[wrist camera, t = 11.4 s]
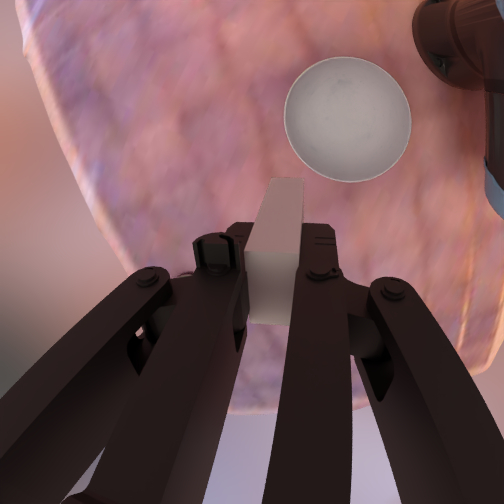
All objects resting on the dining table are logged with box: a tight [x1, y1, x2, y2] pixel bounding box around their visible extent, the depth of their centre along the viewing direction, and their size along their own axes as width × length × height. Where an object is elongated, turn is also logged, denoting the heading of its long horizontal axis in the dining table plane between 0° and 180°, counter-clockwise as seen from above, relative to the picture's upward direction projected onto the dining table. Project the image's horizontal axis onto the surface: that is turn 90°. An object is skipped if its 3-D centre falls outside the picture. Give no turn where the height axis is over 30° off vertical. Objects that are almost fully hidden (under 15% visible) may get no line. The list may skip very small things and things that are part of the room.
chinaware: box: [284, 56, 412, 182], centre depth 34 cm, size 15×15×8 cm
